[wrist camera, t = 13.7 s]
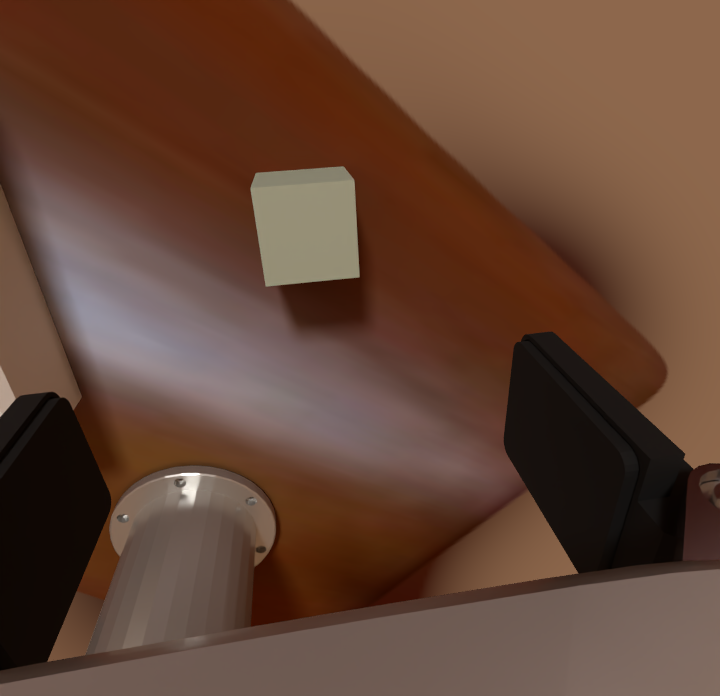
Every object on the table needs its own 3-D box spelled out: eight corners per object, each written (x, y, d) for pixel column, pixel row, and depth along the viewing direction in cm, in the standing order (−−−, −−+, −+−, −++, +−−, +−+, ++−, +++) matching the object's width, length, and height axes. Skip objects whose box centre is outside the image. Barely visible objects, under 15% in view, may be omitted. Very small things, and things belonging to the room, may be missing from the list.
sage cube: (348, 250, 30) (359, 277, 26) (268, 257, 29) (265, 286, 25) (343, 166, 28) (354, 180, 23) (256, 172, 27) (250, 187, 23)
